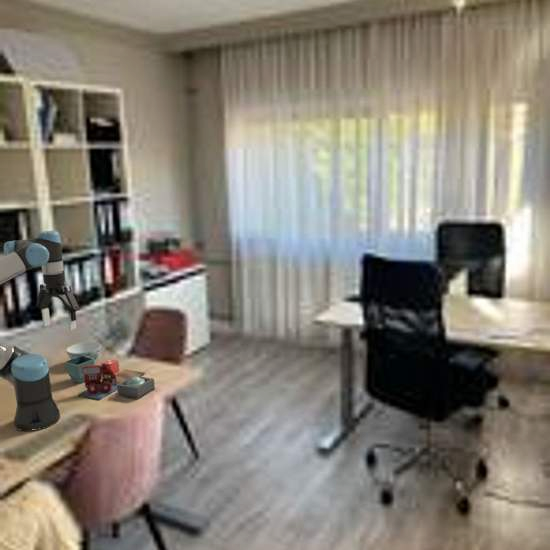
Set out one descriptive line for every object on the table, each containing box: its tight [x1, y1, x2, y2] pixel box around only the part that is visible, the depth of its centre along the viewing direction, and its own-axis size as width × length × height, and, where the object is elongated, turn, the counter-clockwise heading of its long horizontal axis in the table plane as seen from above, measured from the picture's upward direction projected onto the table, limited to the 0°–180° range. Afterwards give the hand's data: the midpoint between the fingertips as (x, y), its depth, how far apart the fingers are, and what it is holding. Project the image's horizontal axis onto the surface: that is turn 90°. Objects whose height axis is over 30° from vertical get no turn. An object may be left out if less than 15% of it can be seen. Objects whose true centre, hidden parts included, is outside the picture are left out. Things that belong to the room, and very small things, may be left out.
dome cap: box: [126, 377, 145, 387], centre depth 227 cm, size 7×7×5 cm
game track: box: [77, 369, 146, 401], centre depth 237 cm, size 28×11×1 cm, turn 154°
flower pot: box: [64, 356, 95, 384], centre depth 242 cm, size 9×9×9 cm
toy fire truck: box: [82, 364, 117, 394], centre depth 229 cm, size 7×12×10 cm, turn 100°
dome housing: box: [117, 376, 156, 400], centre depth 227 cm, size 10×10×4 cm
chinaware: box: [66, 341, 102, 362], centre depth 262 cm, size 15×15×8 cm
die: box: [100, 358, 120, 375], centre depth 249 cm, size 5×5×5 cm
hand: (59, 327), depth 221 cm, fingers open, 13 cm apart
